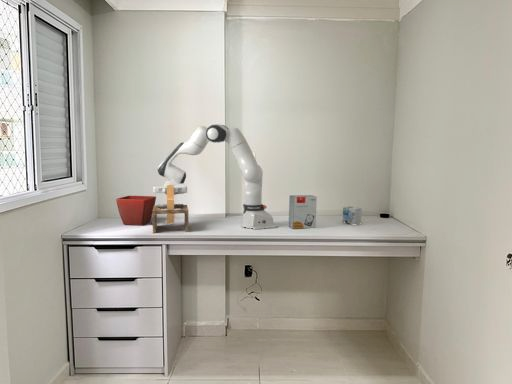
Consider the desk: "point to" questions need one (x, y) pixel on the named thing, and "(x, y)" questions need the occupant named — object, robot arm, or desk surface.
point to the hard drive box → (302, 211)
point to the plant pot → (136, 209)
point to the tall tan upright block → (170, 203)
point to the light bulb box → (352, 215)
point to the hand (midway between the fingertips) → (170, 190)
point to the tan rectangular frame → (177, 207)
